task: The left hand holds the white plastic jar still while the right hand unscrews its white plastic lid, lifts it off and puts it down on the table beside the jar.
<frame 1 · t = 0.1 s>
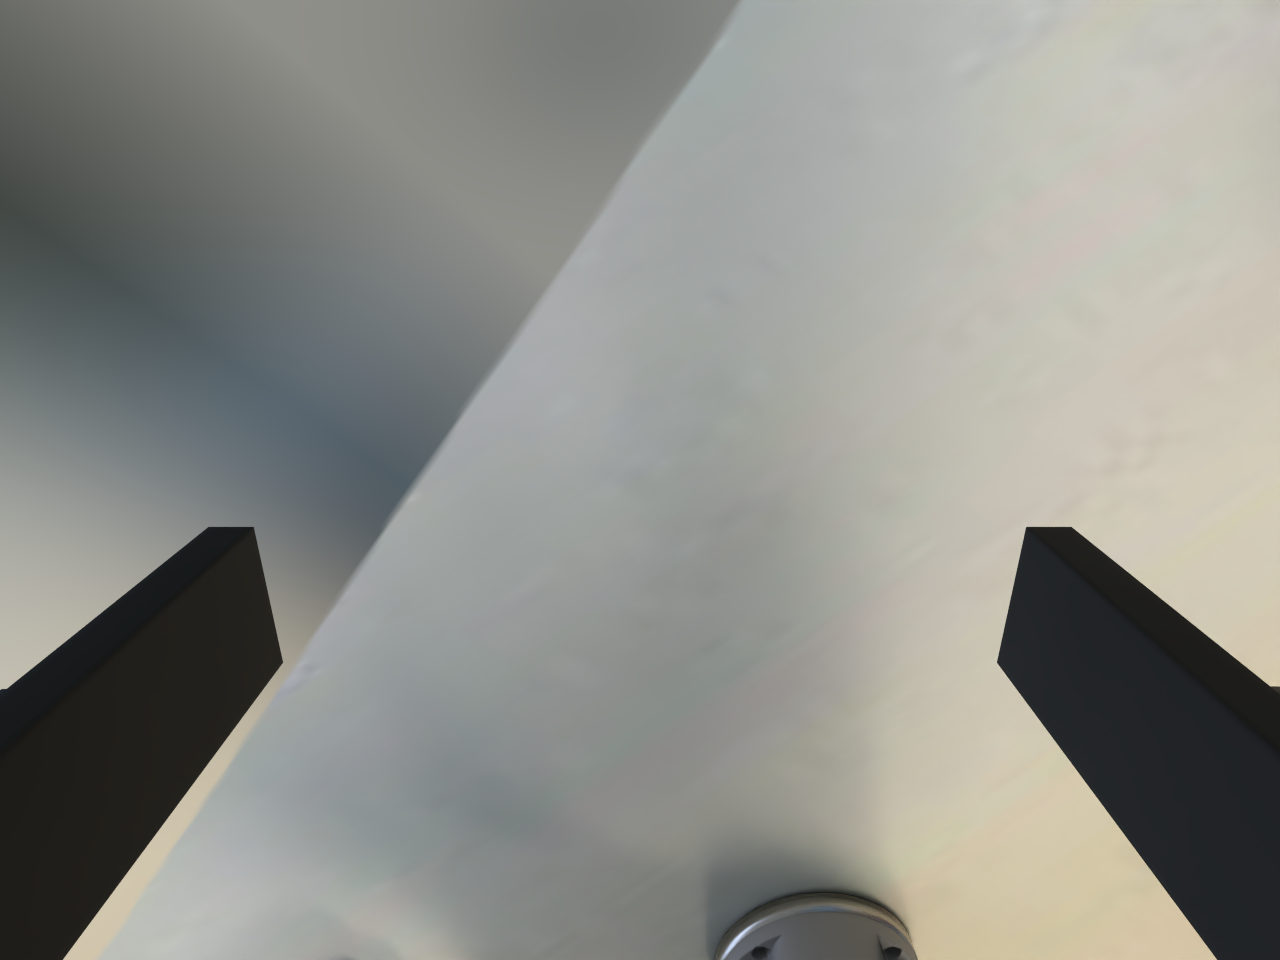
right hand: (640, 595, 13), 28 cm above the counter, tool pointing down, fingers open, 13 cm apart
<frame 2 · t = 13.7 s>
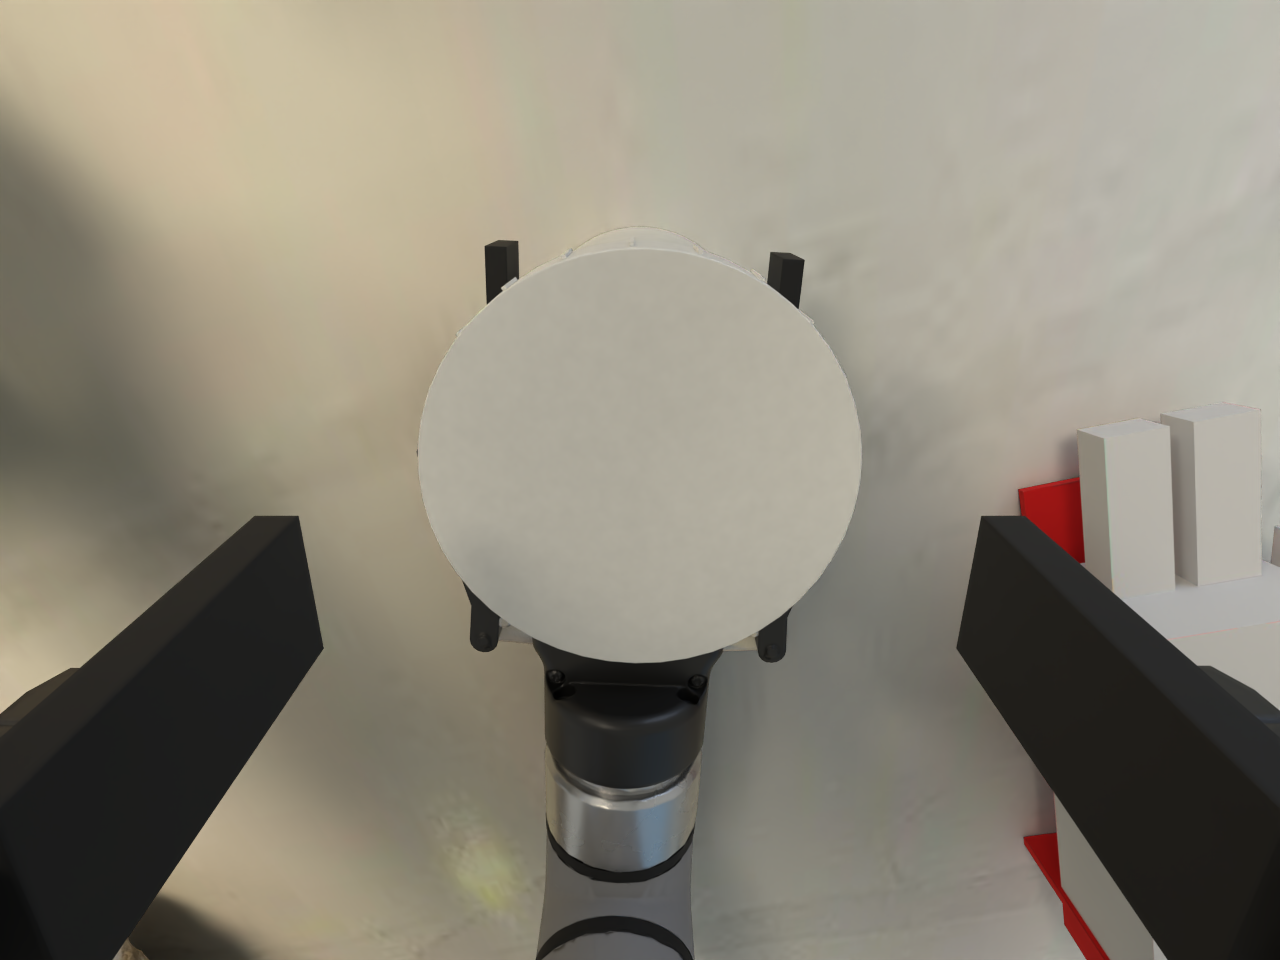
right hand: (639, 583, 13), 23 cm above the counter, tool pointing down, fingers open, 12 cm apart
lid: (639, 473, 18), point 18 cm above the counter, screwed on, not yet turned
toy: (1098, 650, 41), on the counter
jar: (639, 334, 35), on the counter, touching left hand
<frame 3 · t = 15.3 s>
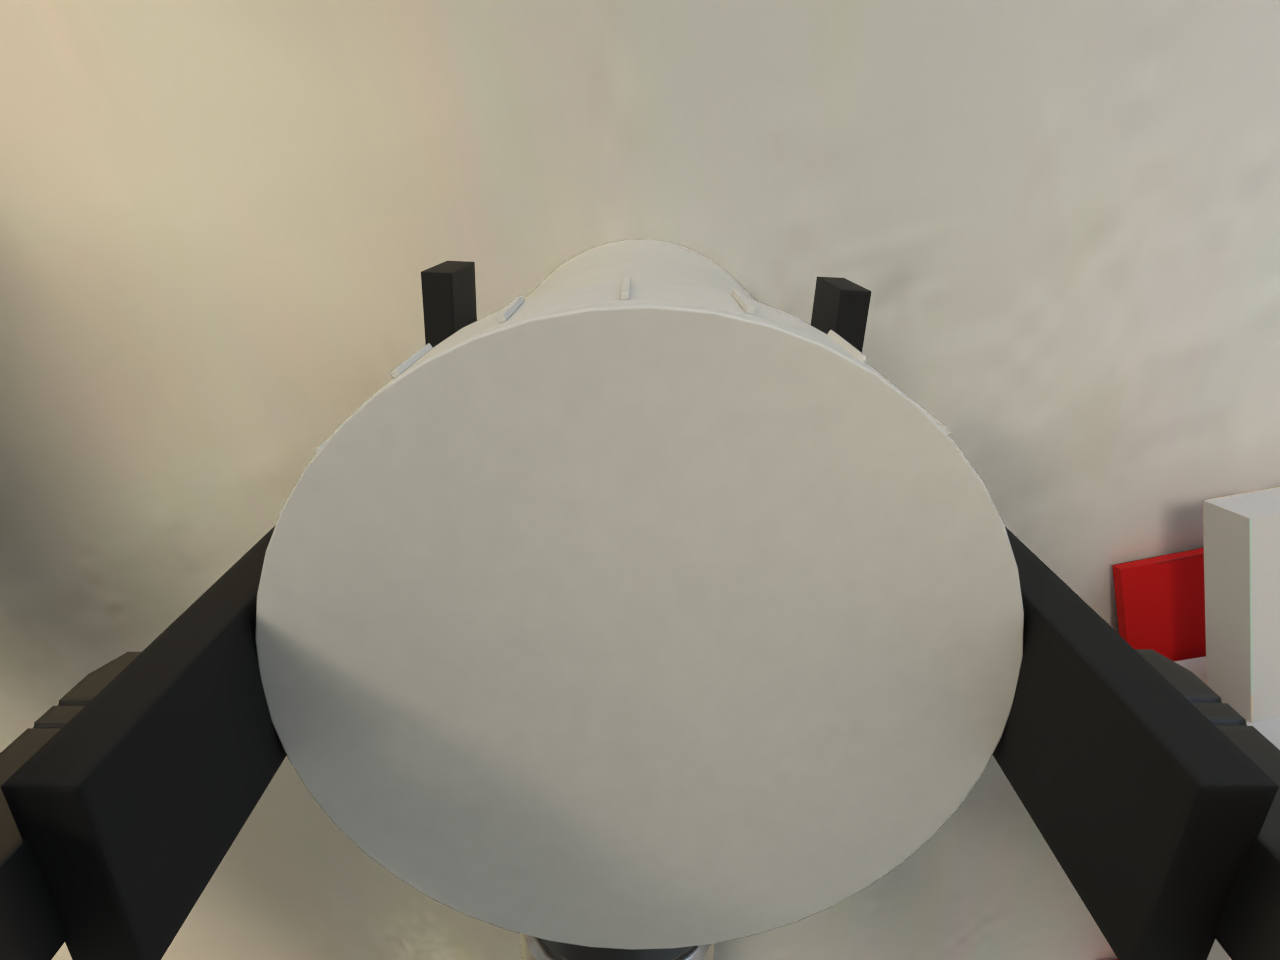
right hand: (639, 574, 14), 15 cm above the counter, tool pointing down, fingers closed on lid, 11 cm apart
lid: (639, 674, 11), point 18 cm above the counter, screwed on, not yet turned, touching right hand
toy: (1199, 753, 34), on the counter
jar: (639, 376, 27), on the counter, touching left hand
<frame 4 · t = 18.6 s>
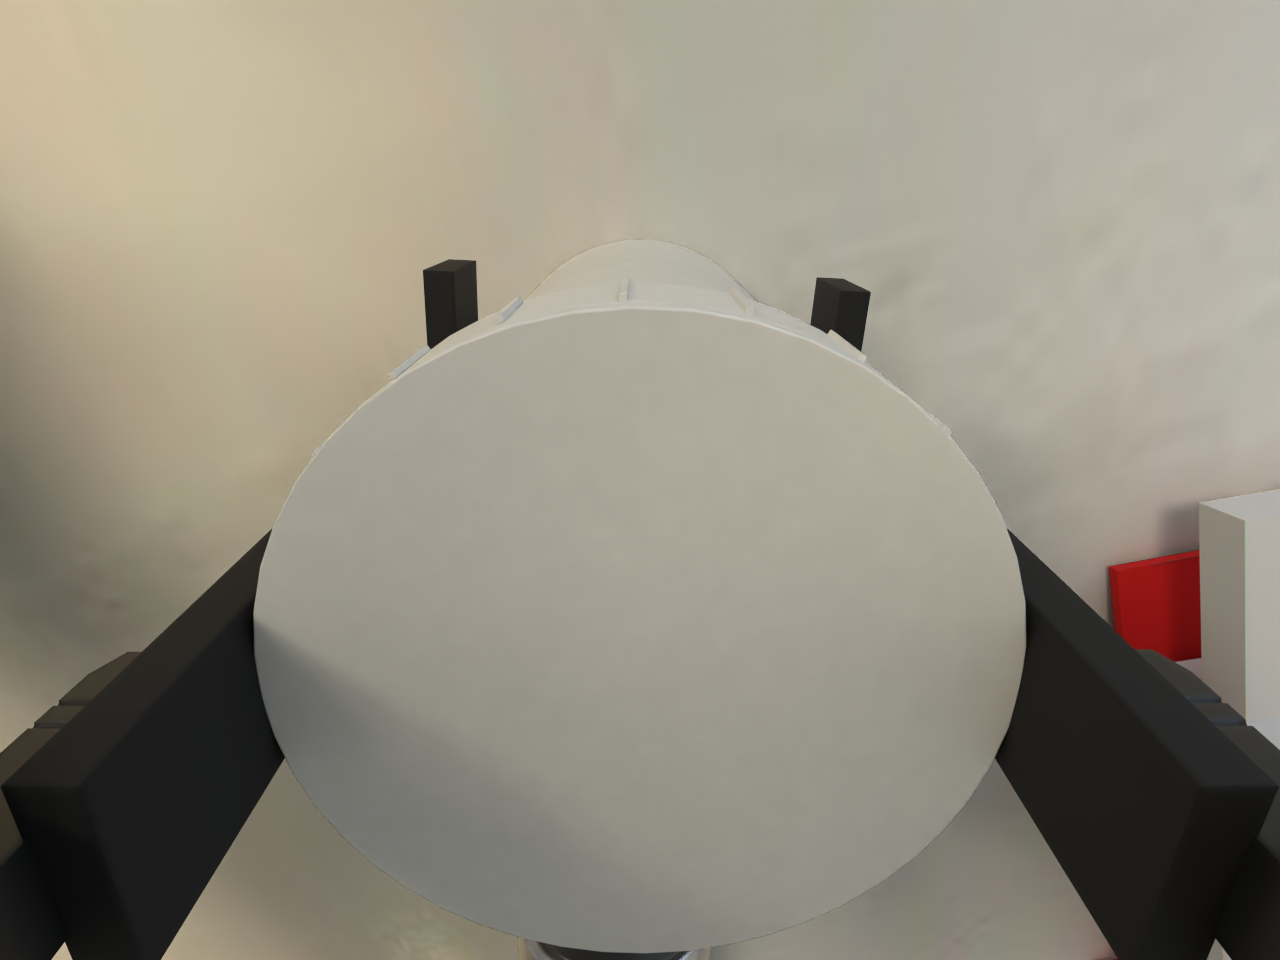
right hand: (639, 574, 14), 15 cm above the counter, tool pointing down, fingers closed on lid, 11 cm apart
lid: (639, 677, 11), point 18 cm above the counter, turned 115° so far, risen 0.2 cm, still on its thread, touching right hand
toy: (1194, 754, 34), on the counter
jar: (639, 375, 27), on the counter, touching left hand
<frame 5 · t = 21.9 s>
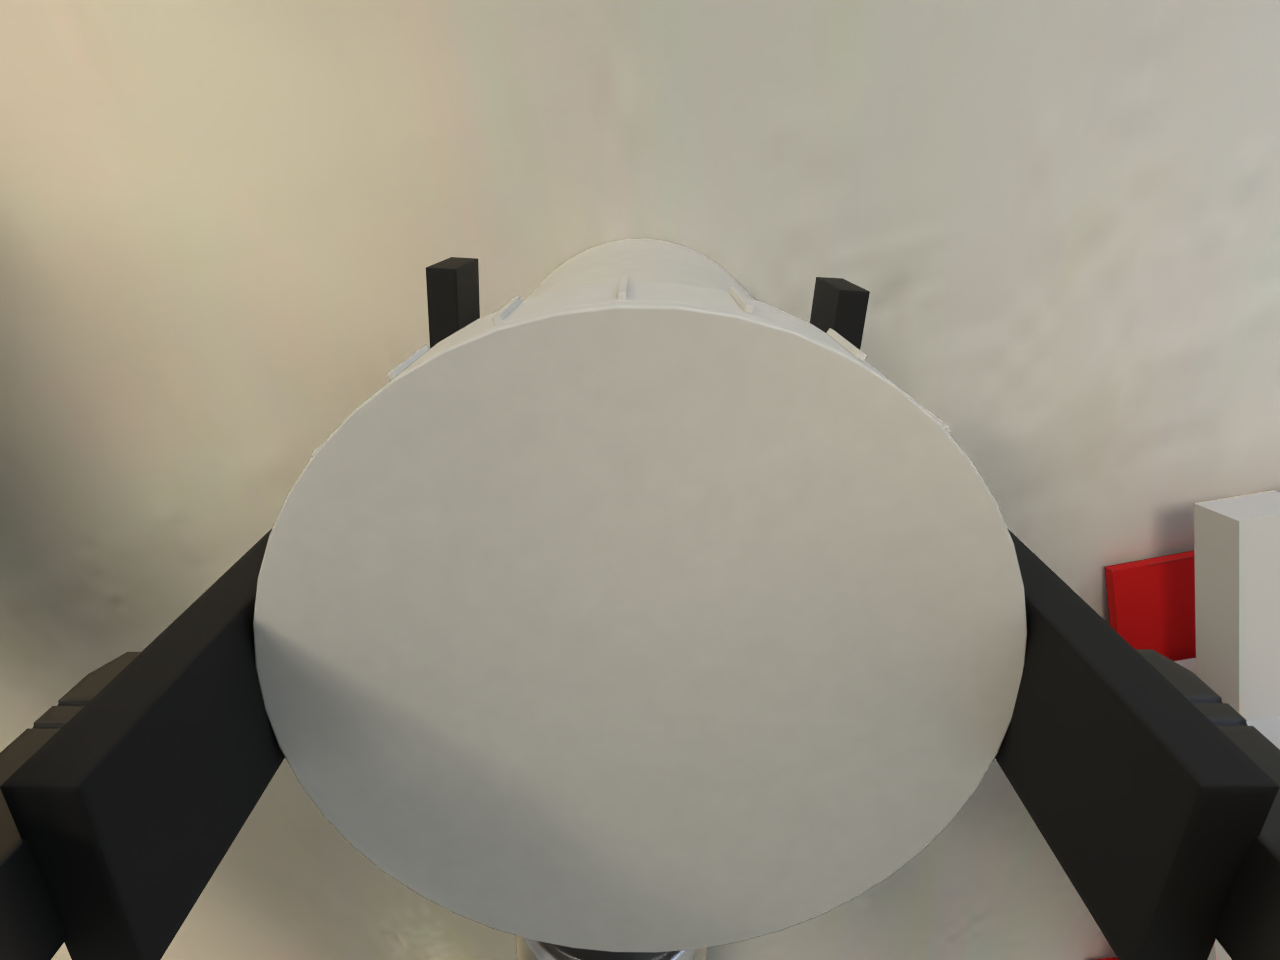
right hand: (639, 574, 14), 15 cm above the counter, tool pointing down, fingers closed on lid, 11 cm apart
lid: (640, 676, 11), point 18 cm above the counter, turned 230° so far, risen 0.3 cm, still on its thread, touching right hand
toy: (1188, 754, 34), on the counter
jar: (639, 374, 28), on the counter, touching left hand
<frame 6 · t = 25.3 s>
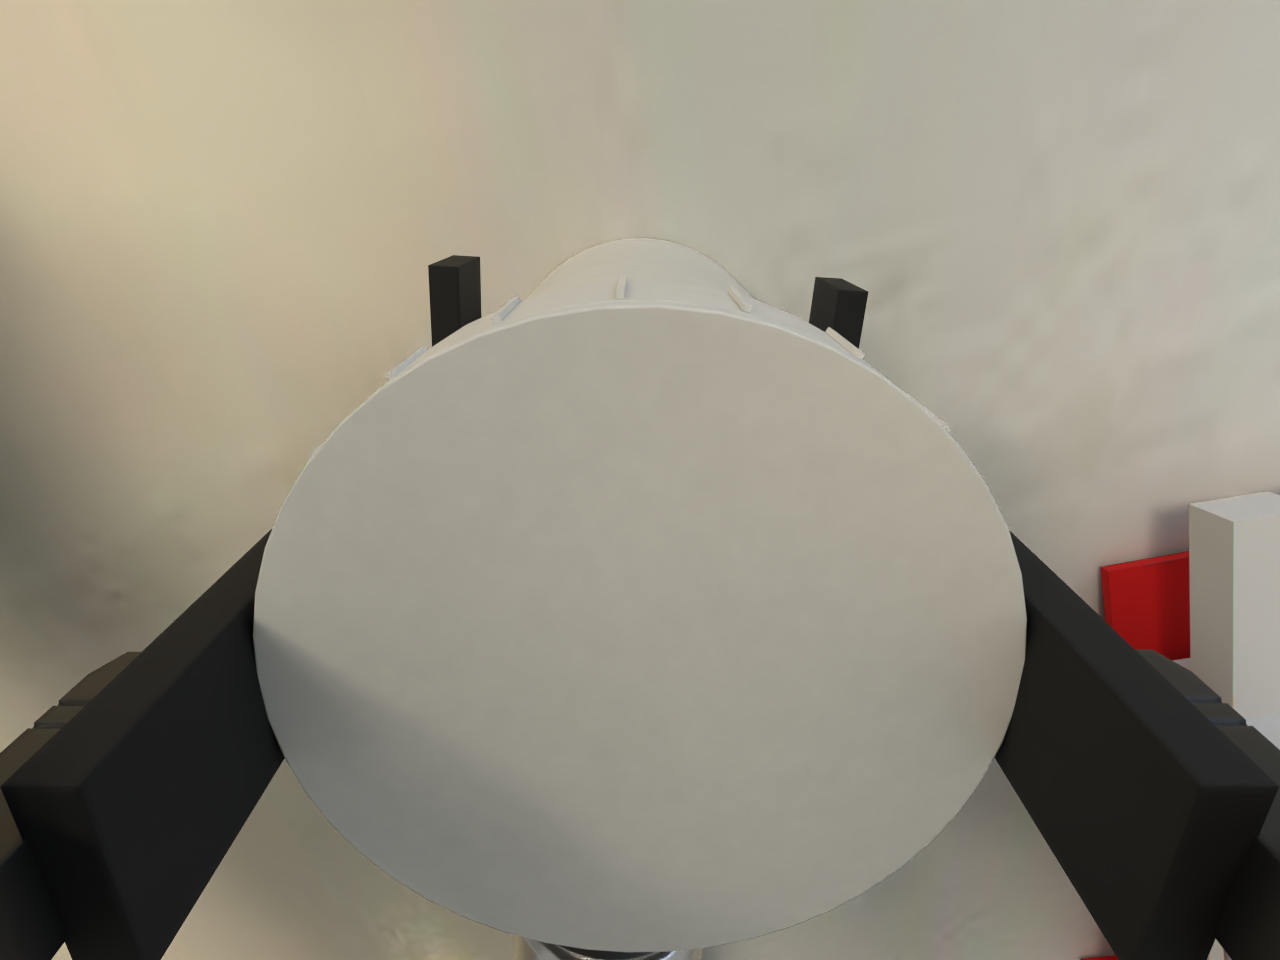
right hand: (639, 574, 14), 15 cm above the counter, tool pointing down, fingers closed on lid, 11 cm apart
lid: (640, 676, 11), point 18 cm above the counter, turned 345° so far, risen 0.5 cm, still on its thread, touching right hand
toy: (1183, 753, 35), on the counter
jar: (639, 372, 28), on the counter, touching left hand
when the right hand's fingers open (0 cm above the counter, at t = 31.9 s): lid drops 1 cm, point 2 cm above the counter.
when the left hand's fingers open (7 cm above the counter, at t = 32.9 s): jar stays where it is, on the counter.
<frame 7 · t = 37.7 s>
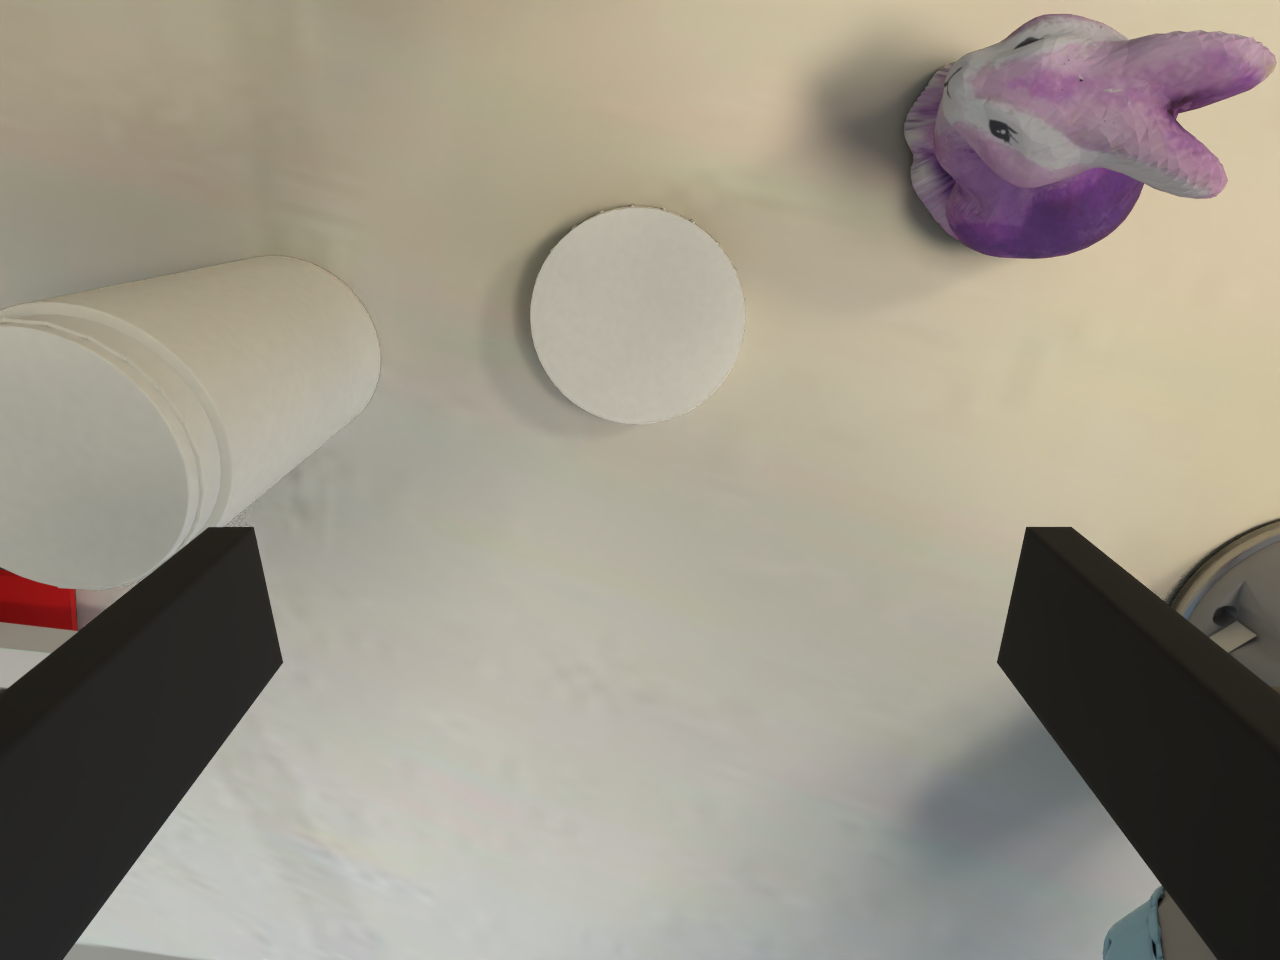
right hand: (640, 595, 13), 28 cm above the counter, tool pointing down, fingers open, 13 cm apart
lid: (637, 320, 37), point 2 cm above the counter, off its thread
jar: (290, 348, 40), on the counter
figurine: (979, 158, 36), on the counter
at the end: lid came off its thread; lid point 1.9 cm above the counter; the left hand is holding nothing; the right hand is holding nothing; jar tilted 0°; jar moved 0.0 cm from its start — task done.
